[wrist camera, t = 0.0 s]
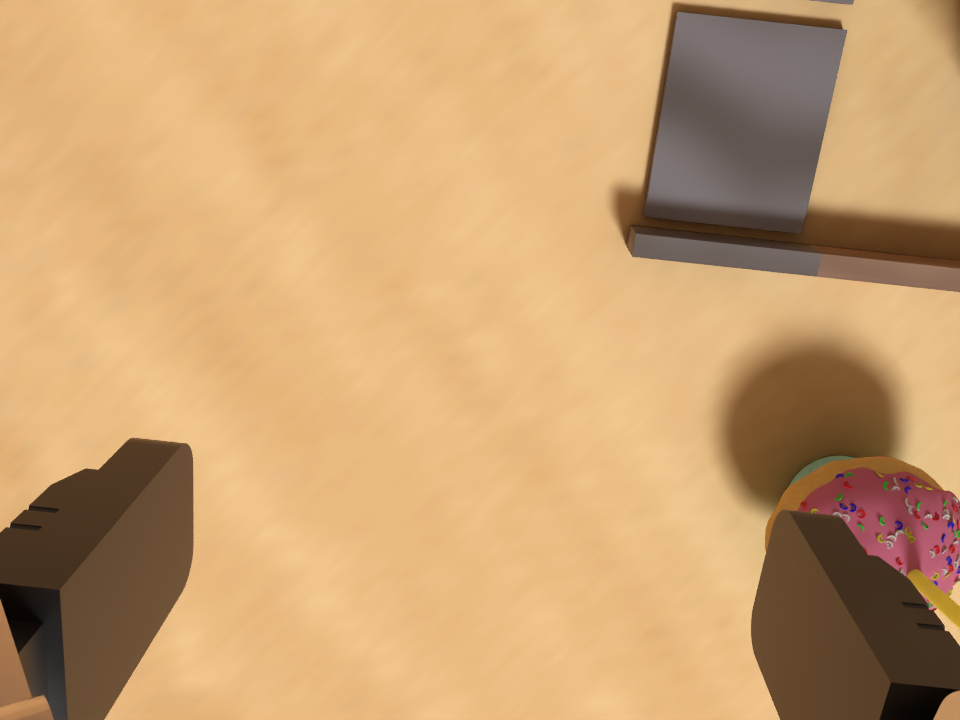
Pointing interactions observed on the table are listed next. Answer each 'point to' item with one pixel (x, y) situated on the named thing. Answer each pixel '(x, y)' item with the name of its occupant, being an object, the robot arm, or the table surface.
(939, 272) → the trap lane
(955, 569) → the cupcake
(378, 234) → the table surface
